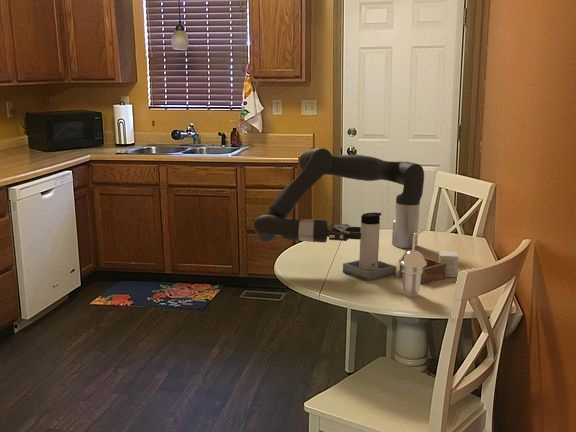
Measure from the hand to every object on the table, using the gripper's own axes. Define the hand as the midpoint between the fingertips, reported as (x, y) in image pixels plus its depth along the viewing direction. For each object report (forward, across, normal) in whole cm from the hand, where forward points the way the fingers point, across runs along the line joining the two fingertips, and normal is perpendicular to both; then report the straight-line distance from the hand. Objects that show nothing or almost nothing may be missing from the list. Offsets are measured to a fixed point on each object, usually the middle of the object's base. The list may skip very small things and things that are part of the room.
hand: (361, 233), depth 210 cm
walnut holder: (+21, 0, +14) cm, 25 cm away
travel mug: (+3, +1, +13) cm, 13 cm away
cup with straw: (+16, -19, +14) cm, 29 cm away
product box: (+30, +4, +14) cm, 33 cm away
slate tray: (+3, 0, +14) cm, 14 cm away
